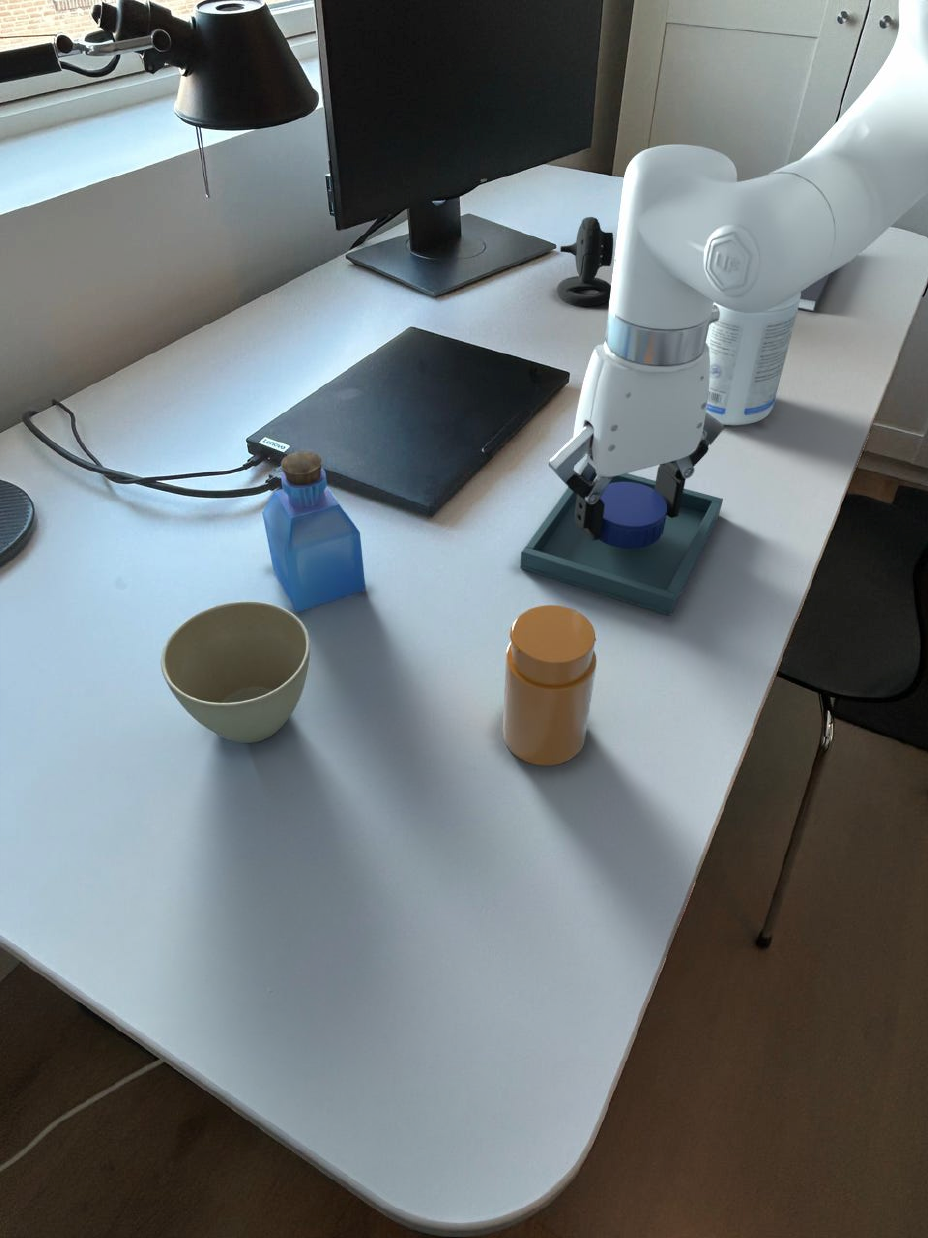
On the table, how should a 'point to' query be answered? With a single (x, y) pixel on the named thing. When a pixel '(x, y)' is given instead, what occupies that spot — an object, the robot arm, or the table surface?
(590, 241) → the webcam
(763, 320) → the supplement tub
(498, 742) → the table surface
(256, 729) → the flower pot
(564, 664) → the jar
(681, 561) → the tray
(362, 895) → the table surface
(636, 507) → the lid
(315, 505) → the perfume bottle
